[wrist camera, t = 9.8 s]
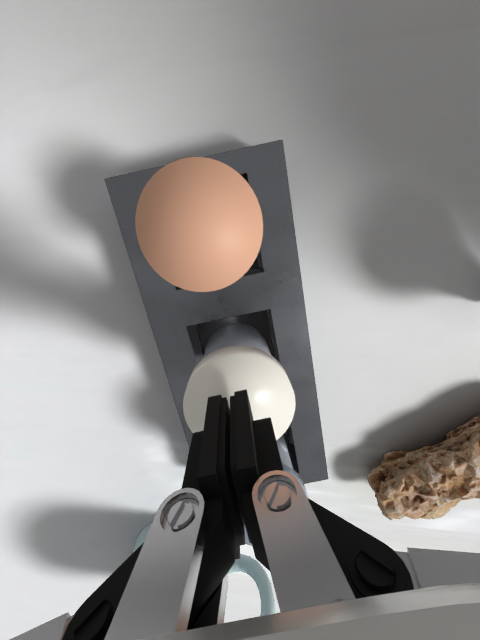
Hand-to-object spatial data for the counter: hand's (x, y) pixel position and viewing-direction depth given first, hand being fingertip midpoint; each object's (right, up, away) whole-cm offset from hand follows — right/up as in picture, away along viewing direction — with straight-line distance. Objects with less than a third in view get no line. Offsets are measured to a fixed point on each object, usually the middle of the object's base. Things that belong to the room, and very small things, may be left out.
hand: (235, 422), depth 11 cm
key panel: (0, +3, +9) cm, 10 cm away
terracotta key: (-2, +10, +6) cm, 11 cm away
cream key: (0, +2, +7) cm, 7 cm away
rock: (+20, -8, +14) cm, 26 cm away
